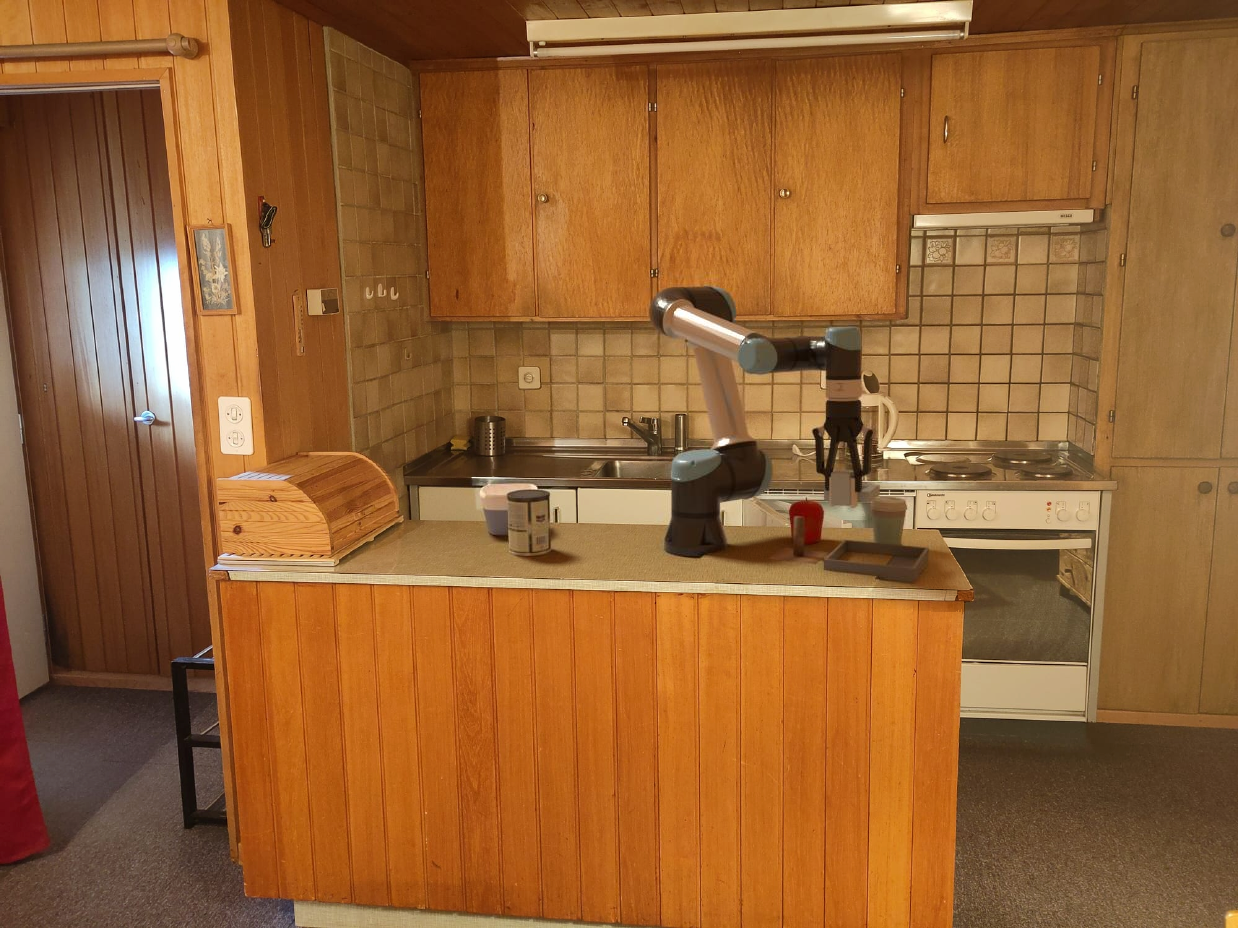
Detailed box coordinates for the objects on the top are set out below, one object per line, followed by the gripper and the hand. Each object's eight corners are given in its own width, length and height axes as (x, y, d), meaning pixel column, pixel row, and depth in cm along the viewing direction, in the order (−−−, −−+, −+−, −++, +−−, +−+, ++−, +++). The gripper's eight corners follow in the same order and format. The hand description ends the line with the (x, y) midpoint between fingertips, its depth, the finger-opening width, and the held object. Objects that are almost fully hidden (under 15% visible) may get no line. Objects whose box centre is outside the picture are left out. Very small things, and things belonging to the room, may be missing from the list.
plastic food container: (481, 525, 277) (479, 484, 275) (539, 523, 278) (538, 482, 277) (479, 538, 262) (478, 495, 260) (541, 536, 263) (540, 493, 262)
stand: (768, 561, 237) (769, 520, 236) (782, 550, 247) (782, 510, 246) (815, 567, 233) (816, 524, 231) (827, 555, 243) (828, 514, 241)
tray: (823, 573, 228) (823, 559, 227) (843, 552, 245) (844, 539, 245) (914, 582, 220) (914, 568, 219) (928, 560, 237) (929, 547, 237)
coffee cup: (907, 554, 243) (908, 504, 241) (869, 552, 245) (871, 502, 243) (904, 545, 251) (906, 496, 249) (868, 543, 253) (869, 495, 251)
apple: (821, 549, 248) (822, 501, 246) (786, 547, 251) (787, 499, 249) (825, 541, 256) (826, 494, 254) (791, 539, 259) (791, 492, 257)
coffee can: (521, 543, 256) (520, 487, 254) (558, 547, 252) (557, 490, 250) (500, 553, 247) (498, 495, 245) (538, 558, 243) (536, 499, 240)
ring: (817, 504, 227) (817, 472, 226) (836, 493, 240) (836, 463, 239) (863, 506, 222) (863, 474, 221) (879, 495, 235) (879, 464, 234)
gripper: (799, 400, 224) (800, 507, 227) (879, 401, 216) (878, 511, 219) (810, 397, 230) (810, 501, 234) (887, 398, 223) (886, 505, 226)
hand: (843, 506), depth 227 cm, fingers closed on ring, 4 cm apart
